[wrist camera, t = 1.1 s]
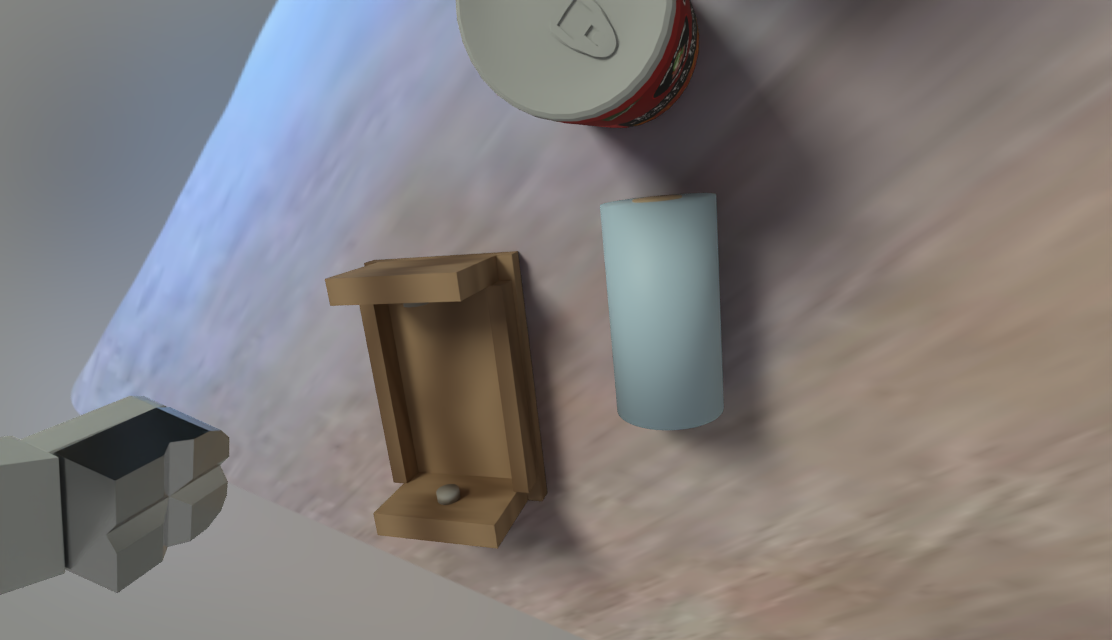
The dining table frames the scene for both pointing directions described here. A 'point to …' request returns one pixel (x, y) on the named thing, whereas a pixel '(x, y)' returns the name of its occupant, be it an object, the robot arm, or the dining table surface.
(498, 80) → the canned food
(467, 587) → the dining table surface
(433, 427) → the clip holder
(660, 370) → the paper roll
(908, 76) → the dining table surface
